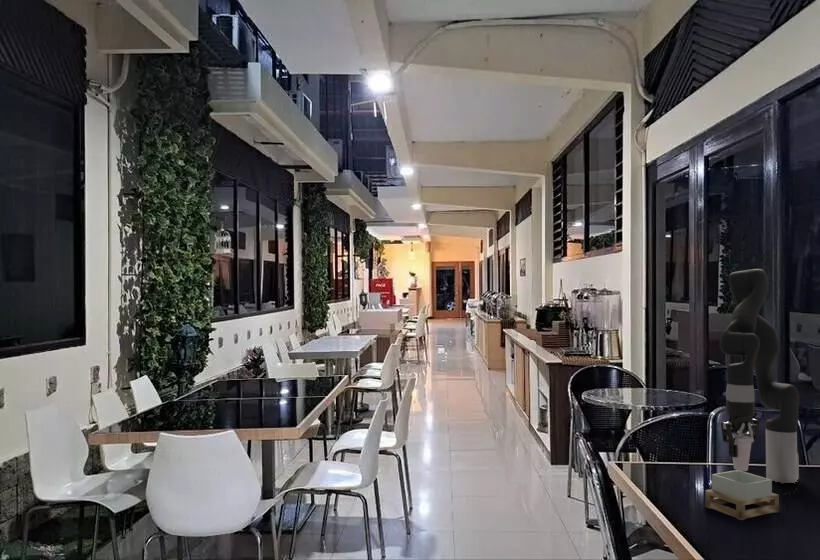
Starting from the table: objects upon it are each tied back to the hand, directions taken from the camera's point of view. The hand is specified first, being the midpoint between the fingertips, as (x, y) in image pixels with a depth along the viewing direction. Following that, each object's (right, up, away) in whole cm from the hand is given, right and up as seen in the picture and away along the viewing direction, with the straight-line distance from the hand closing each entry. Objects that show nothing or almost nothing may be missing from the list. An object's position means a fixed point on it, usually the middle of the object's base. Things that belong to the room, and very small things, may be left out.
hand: (740, 455), depth 186 cm
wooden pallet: (0, -16, 0) cm, 16 cm away
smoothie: (0, -4, 0) cm, 4 cm away
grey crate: (0, -11, 0) cm, 11 cm away
